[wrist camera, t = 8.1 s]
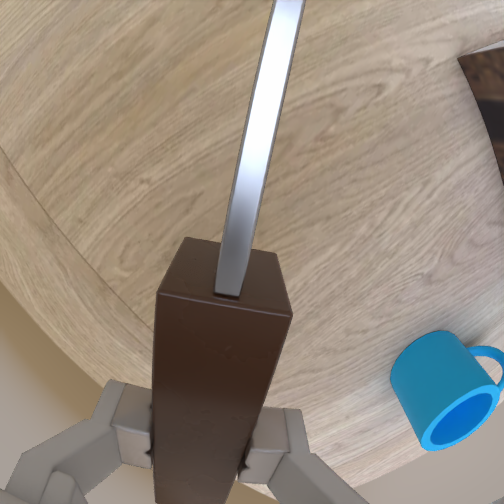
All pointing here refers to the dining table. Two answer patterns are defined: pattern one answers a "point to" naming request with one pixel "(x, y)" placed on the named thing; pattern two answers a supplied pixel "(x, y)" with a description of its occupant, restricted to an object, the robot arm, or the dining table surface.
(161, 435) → the butter knife
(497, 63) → the book
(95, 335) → the dining table surface
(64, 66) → the dining table surface
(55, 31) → the dining table surface
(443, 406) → the mug
